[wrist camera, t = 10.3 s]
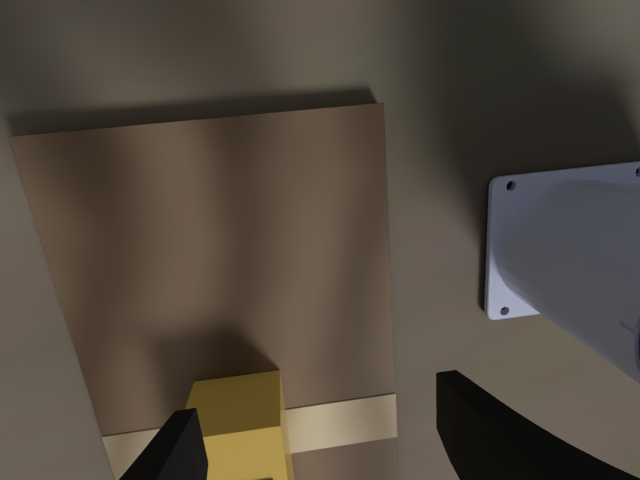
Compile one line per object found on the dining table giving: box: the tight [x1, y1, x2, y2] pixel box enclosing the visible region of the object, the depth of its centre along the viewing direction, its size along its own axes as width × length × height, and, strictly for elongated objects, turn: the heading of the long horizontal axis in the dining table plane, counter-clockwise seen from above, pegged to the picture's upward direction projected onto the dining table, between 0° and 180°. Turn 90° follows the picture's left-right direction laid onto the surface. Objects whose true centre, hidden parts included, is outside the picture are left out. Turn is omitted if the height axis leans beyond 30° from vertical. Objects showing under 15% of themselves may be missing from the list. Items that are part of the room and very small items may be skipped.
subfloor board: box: [9, 103, 399, 480], centre depth 20 cm, size 16×24×1 cm, turn 5°
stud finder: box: [185, 370, 295, 480], centre depth 19 cm, size 4×8×4 cm, turn 5°
